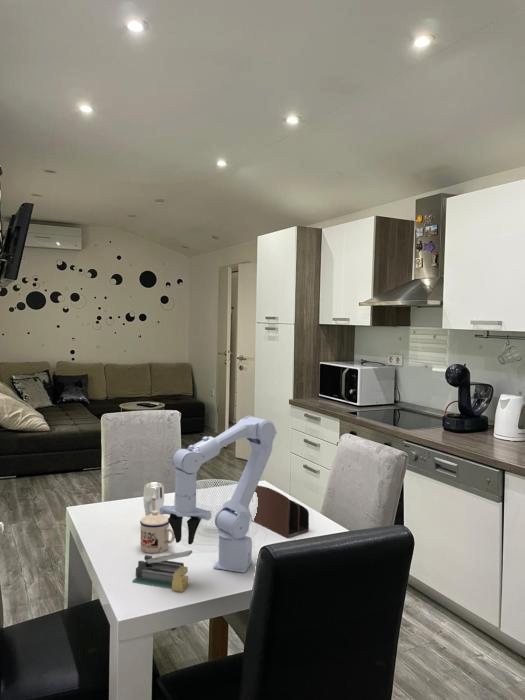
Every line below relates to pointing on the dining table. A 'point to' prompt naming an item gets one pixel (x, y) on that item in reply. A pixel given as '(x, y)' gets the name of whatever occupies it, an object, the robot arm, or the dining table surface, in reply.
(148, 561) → the grey long flat bar
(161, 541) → the teacup with lid
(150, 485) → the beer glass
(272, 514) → the letter holder
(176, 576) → the clip
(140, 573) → the grey forked bracket
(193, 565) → the dining table surface
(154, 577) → the block
